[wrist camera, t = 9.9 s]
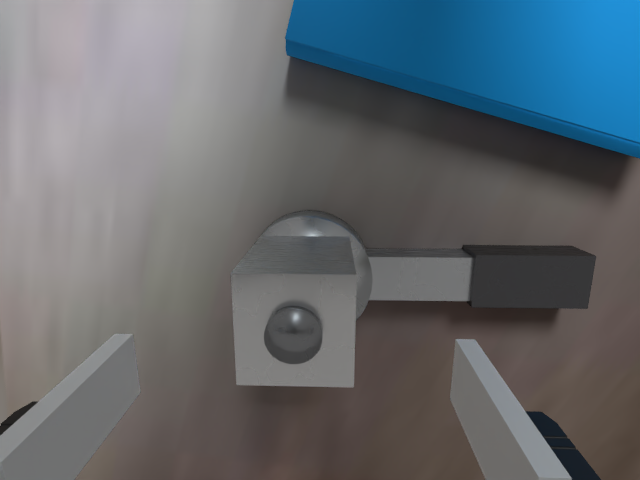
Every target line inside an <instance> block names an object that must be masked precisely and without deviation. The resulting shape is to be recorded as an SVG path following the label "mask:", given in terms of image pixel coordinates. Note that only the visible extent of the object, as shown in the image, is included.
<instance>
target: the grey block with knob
mask: <svg viewBox="0 0 640 480" xmlns="http://www.w3.org/2000/svg"><path fill="white" fill-rule="evenodd" d="M356 283H357V274H356V268H355V263H354V258H353V253H352V247H351V242H350V237H349V236H260V237H259V239H258V240H257V241H256V242H255V244H254V245H253V246H252V247H251V249H250V250H249V251H248V252H247V254H246V255H245V256H244V257H243V259H242V260H241V261H240V262H239V264H238V265H237V266H236V267H235V268H234V270H233V271H232V272H231V290H232V310H233V329H234V348H235V367H236V385H256V386H306V387H354V364H355V323H356Z"/></svg>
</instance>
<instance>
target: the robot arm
mask: <svg viewBox="0 0 640 480" xmlns="http://www.w3.org/2000/svg"><path fill="white" fill-rule="evenodd" d="M140 393H141V390H140V383H139V375H138V368H137V360H136V353H135V345H134V338H133V334H114V335H113V336H112V337H111V338H109V339H108V340H107V341H106V342H105V343H104V344H103V345H102V346H100V347H99V348H98V349H97V350H96V351H95V352H94V353H93V354H91V355H90V356H89V357H88V358H87V359H86V360H85V361H84V362H82V363H81V364H80V365H79V366H78V367H77V368H76V369H75V370H73V371H72V372H71V373H70V374H69V375H68V376H67V377H66V378H64V379H63V380H62V381H61V382H60V383H59V384H58V385H57V386H55V387H54V388H53V389H52V390H51V391H50V392H49V393H48V394H46V395H45V396H44V397H43V398H42V399H41V400H40V401H39V402H31V403H30V404H28V405H26V406H24V407H23V408H21V409H19V410H17V411H15V412H14V413H13V414H12V415H11V416H9V417H8V418H7V419H6V420H5V421H4V422H2V423H1V426H0V480H74V479H75V478H76V477H77V475H78V474H79V473H80V471H81V470H82V469H83V468H84V466H85V465H86V464H87V462H88V461H89V460H90V458H91V457H92V456H93V454H94V453H95V452H96V450H97V449H98V448H99V447H100V445H101V444H102V443H103V441H104V440H105V439H106V437H107V436H108V435H109V433H110V432H111V431H112V430H113V428H114V427H115V426H116V424H117V423H118V422H119V420H120V419H121V418H122V416H123V415H124V414H125V412H126V411H127V410H128V409H129V407H130V406H131V405H132V403H133V402H134V401H135V399H136V398H137V397H138V395H139V394H140ZM450 400H451V402H452V404H453V407H454V409H455V411H456V414H457V416H458V418H459V420H460V423H461V425H462V427H463V429H464V432H465V434H466V436H467V438H468V441H469V443H470V445H471V447H472V450H473V452H474V454H475V456H476V459H477V461H478V463H479V466H480V468H481V470H482V472H483V475H484V477H485V479H486V480H601V479H600V478H599V477H598V475H597V474H596V473H595V471H594V470H593V469H592V468H591V466H590V465H589V464H588V463H587V461H586V460H585V459H584V457H583V456H582V455H581V454H580V452H579V451H578V450H576V448H575V446H574V445H573V443H572V442H571V441H570V439H567V436H566V434H565V433H564V432H563V430H562V429H561V428H560V427H559V425H558V424H557V423H556V422H555V421H553V420H552V419H551V418H549V417H548V416H547V415H545V414H544V413H542V412H528V411H525V410H524V409H523V408H522V406H521V405H520V403H519V402H518V400H517V399H516V398H515V396H514V395H513V393H512V392H511V390H510V389H509V387H508V386H507V385H506V383H505V382H504V380H503V379H502V377H501V376H500V375H499V373H498V372H497V370H496V369H495V367H494V366H493V365H492V363H491V362H490V360H489V359H488V357H487V356H486V354H485V353H484V352H483V350H482V349H481V347H480V346H479V344H478V343H477V342H476V340H475V339H456V340H455V351H454V362H453V372H452V383H451V394H450Z"/></svg>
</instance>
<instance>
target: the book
mask: <svg viewBox="0 0 640 480" xmlns="http://www.w3.org/2000/svg"><path fill="white" fill-rule="evenodd" d="M285 39H286V53H287V55H288V56H292V57H295V58H298V59H302V60H305V61H309V62H312V63H315V64H319V65H322V66H326V67H329V68H333V69H336V70H339V71H343V72H346V73H350V74H353V75H356V76H360V77H363V78H367V79H370V80H374V81H377V82H380V83H384V84H387V85H391V86H394V87H397V88H401V89H404V90H408V91H411V92H414V93H418V94H421V95H425V96H428V97H432V98H435V99H438V100H442V101H445V102H449V103H452V104H455V105H459V106H462V107H466V108H469V109H472V110H476V111H479V112H483V113H486V114H490V115H493V116H496V117H500V118H503V119H507V120H510V121H513V122H517V123H520V124H524V125H527V126H531V127H534V128H537V129H541V130H544V131H548V132H551V133H554V134H558V135H561V136H565V137H568V138H571V139H575V140H578V141H582V142H585V143H589V144H592V145H595V146H599V147H602V148H606V149H609V150H612V151H616V152H619V153H623V154H626V155H629V156H633V157H636V158H640V0H294V2H293V7H292V11H291V15H290V19H289V24H288V28H287V32H286V37H285Z"/></svg>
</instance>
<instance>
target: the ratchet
mask: <svg viewBox="0 0 640 480" xmlns="http://www.w3.org/2000/svg"><path fill="white" fill-rule="evenodd" d="M261 236H349V237H350V242H351V247H352V253H353V258H354V263H355V268H356V274H357V283H356V320H357V319H358V318H359V317H360V315H361V314H362V313H363V311H364V309H365V308H366V306H367V304H368V301H369V300H404V301H466V302H467V303H468V304H469V305H470V306H471V307H485V308H578V309H588V303H589V297H590V291H591V285H592V279H593V272H594V266H595V260H596V256H595V255H593V254H590V253H588V252H585V251H583V250H580V249H578V248H576V247H573V246H508V245H463V249H368V248H365V246H364V244H363V242H362V240H361V239H360V237H359V236H358V234H357V233H356V232H355V231H354V229H353V228H352V227H351V226H349V225H348V224H347V223H346V222H344V221H343V220H341V219H340V218H338V217H336V216H334V215H331V214H328V213H325V212H321V211H312V210H307V211H298V212H293V213H290V214H288V215H285V216H283V217H281V218H279V219H278V220H276V221H275V222H273V223H272V224H271V225H270V226H269V227H268V228H267V229H266V230H265V231H264V232H263V233H262V235H261ZM258 239H259V238H258ZM254 244H255V243H254Z"/></svg>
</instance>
